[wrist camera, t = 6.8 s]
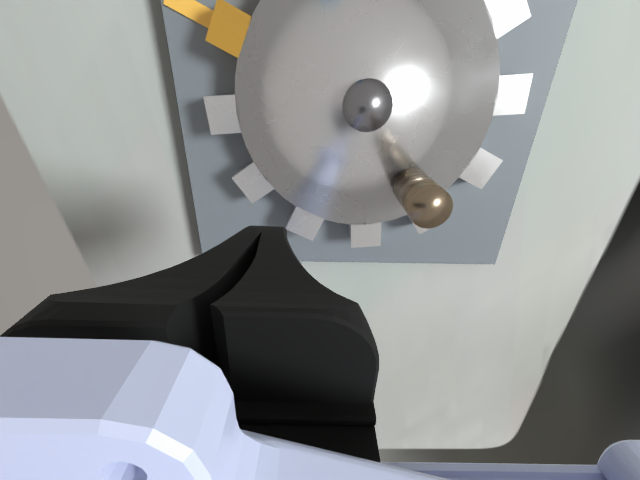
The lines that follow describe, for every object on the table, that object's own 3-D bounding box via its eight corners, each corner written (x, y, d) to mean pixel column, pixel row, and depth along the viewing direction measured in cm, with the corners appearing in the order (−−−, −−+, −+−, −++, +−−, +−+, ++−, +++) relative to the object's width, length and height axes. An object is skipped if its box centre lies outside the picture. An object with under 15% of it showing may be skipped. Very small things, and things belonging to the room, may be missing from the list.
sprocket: (586, 23, 16) (691, 0, 11) (405, 272, 22) (427, 320, 18) (285, -199, 12) (268, -354, 8) (176, 170, 19) (132, 198, 14)
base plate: (488, 257, 23) (495, 265, 22) (207, 252, 22) (202, 260, 21) (606, -142, 14) (629, -160, 13) (144, -159, 14) (130, -179, 13)
